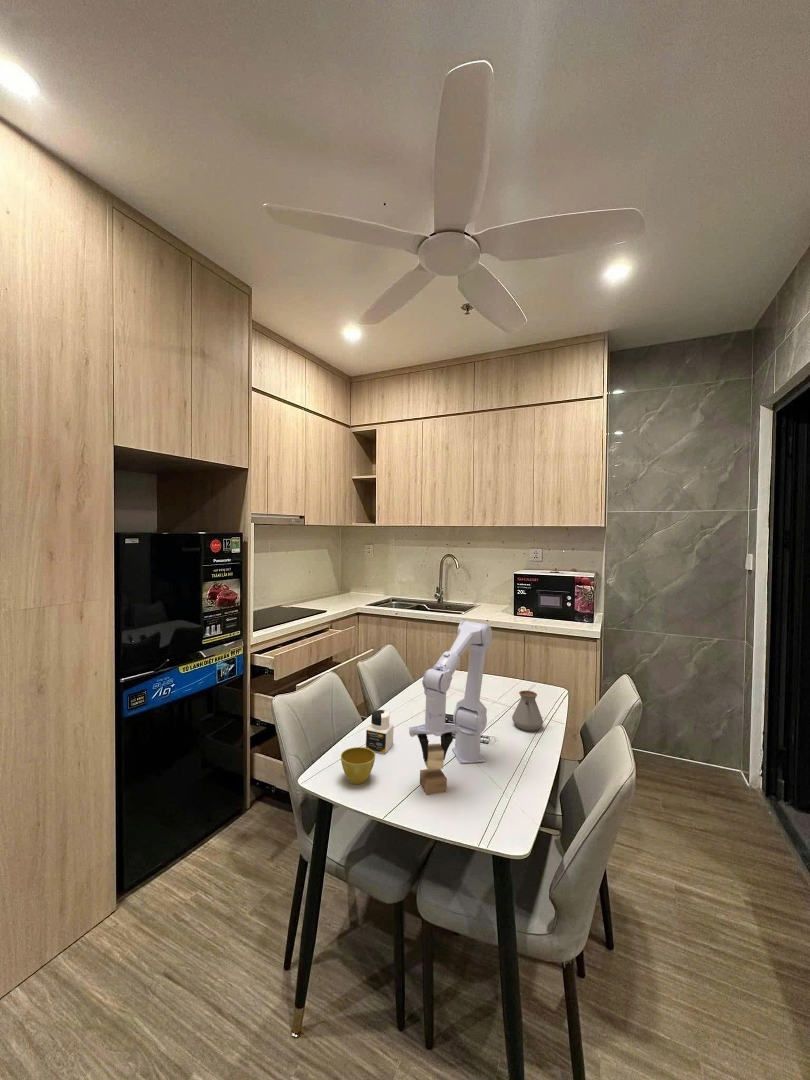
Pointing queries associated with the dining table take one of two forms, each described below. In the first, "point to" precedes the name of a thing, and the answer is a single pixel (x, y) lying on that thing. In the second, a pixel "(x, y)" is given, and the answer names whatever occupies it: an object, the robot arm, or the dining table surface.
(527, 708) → the coffee pot
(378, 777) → the dining table surface
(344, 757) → the flower pot
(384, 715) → the medicine bottle
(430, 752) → the beech cube
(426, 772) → the walnut plinth
